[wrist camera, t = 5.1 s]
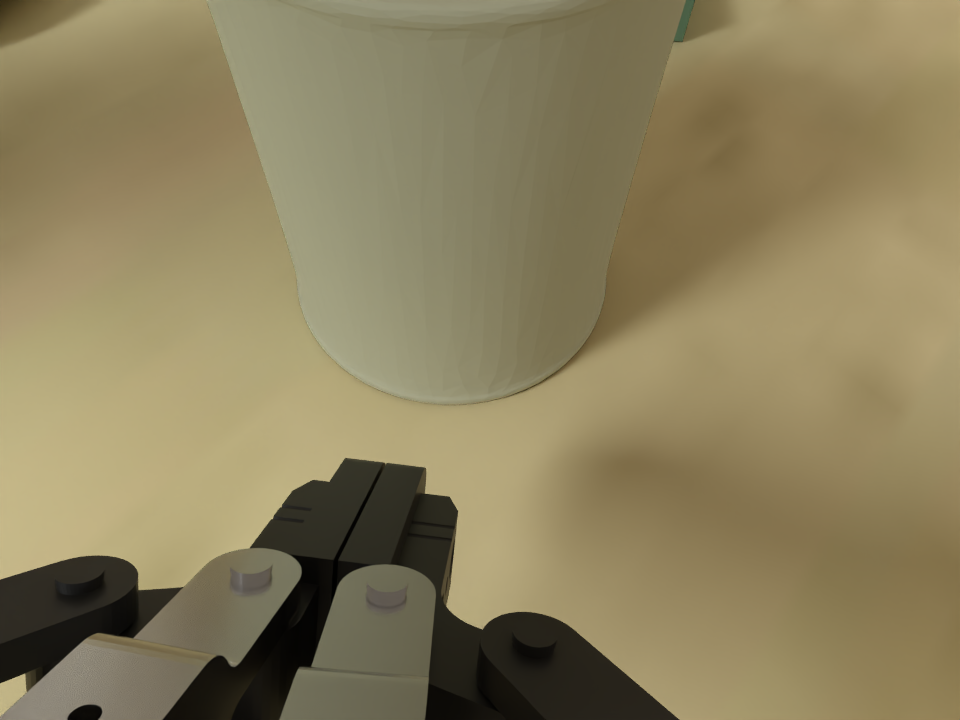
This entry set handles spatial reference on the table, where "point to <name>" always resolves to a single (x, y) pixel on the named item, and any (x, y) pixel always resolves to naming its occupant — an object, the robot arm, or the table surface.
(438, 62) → the can
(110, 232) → the table surface
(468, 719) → the robot arm
